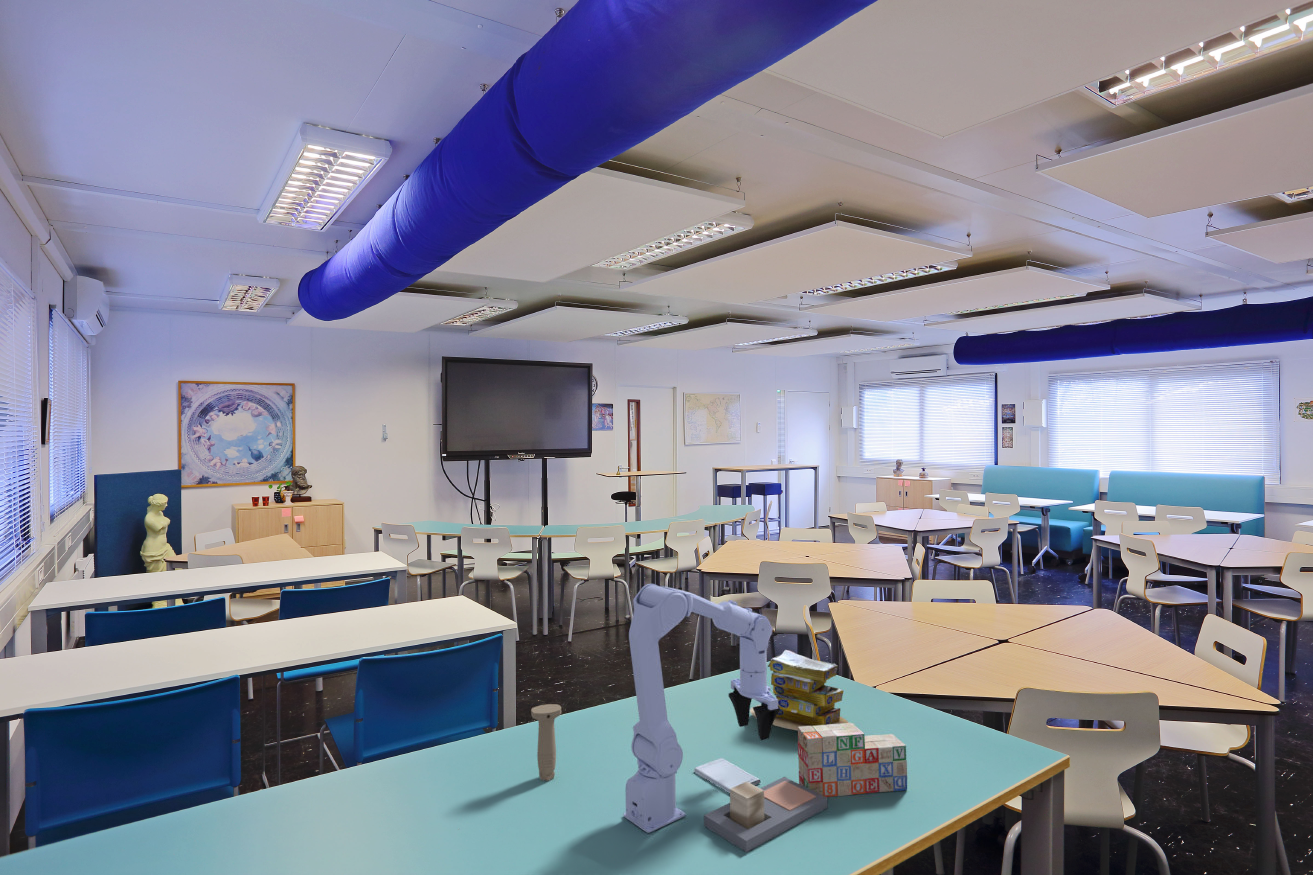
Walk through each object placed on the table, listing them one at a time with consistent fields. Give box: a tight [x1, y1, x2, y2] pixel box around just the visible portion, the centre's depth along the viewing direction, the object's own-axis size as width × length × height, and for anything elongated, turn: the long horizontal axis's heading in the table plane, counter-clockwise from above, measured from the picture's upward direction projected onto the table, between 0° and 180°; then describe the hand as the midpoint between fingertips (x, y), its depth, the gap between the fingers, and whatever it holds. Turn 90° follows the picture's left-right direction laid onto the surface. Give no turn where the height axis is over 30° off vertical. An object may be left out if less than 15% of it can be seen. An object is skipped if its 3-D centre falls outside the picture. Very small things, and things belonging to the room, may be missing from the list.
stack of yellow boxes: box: [750, 649, 850, 731], centre depth 176 cm, size 25×25×17 cm
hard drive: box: [693, 757, 761, 794], centre depth 148 cm, size 2×8×12 cm
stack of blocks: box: [797, 722, 908, 798], centre depth 143 cm, size 21×6×12 cm, turn 97°
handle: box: [530, 703, 562, 782], centre depth 148 cm, size 5×6×15 cm
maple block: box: [729, 781, 764, 829], centre depth 129 cm, size 4×4×7 cm
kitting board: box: [703, 776, 828, 853], centre depth 132 cm, size 23×11×2 cm, turn 129°
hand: (753, 731), depth 147 cm, fingers open, 7 cm apart
